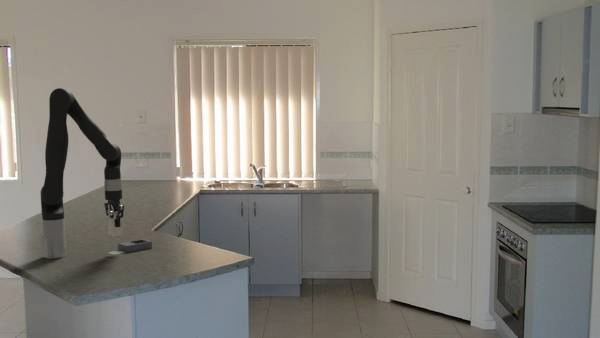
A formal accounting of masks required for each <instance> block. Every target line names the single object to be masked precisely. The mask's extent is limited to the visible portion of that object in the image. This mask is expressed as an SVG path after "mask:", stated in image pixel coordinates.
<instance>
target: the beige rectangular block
mask: <svg viewBox="0 0 600 338" xmlns="http://www.w3.org/2000/svg"><path fill="white" fill-rule="evenodd" d="M120 224H121V226H120V227H115V216H114V217H110V218H109V217H107V225H108V226H107V228H108V236H111V237H118V236H123V235H124V234H123V232H124V231H123V218H121V219H120Z"/></svg>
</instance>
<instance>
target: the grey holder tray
mask: <svg viewBox="0 0 600 338" xmlns="http://www.w3.org/2000/svg"><path fill="white" fill-rule="evenodd" d="M152 248H153V242H152V240H148V239H145V238H141V239H136V240H130V241H123V242H118V243H117V251H118V250H120V251H123V252H126V253H132V252H133V253H134V252H137V251H143V250H147V249H148V250H149V249H152Z"/></svg>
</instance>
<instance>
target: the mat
mask: <svg viewBox="0 0 600 338" xmlns="http://www.w3.org/2000/svg"><path fill="white" fill-rule="evenodd" d="M106 253H107V254H110V255H113V256H116V255H120V254H125V253H127V252H123V251H120V250H118V249H117V250H112V251H108V252H106Z"/></svg>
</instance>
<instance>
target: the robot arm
mask: <svg viewBox="0 0 600 338" xmlns="http://www.w3.org/2000/svg"><path fill="white" fill-rule="evenodd" d="M48 99H49V102H48V103H49V116H48V117H49V120H48V126H47V136H46V142H45V150H44V151H45V152H44V154H45V157H44V158H45V178H44V183H43V186H42V187H41V190H40V206H41V208H40V210H41V219H42V235H41V250H42V258H45V259H47V260H50V259H52V260H53V259H54V260H55V259H60V258H61V259H62V258H64V257H66V256H67V247H66V246H67V244H66V243H67V241H66V225H65V224H66V223H65V210H64V209H65V208H64V173H65V168H66V164H67V159H68V149H69V131H68V126H67V120H68V119H67V117H68V116H69V117H70V118H71V119H72V120H73V122H75V124H76V125H77V126H78V128H79V130H80V131H81V133H82V134H83V135H84V136H85V138H86V139H88V141H89V142H90V144H92V145H93V147H94V148H95V149H96V151H97V152H98V154H99V155H100V156H101V158H102V159H104V160H105V166H104V168H103V169H104V171H103V172H104V173H103V174H104V177H103V178H104V184H103V185H104V188H103V189H104V199H105V201H107V202H104V209H105V210H104V211H105V216H107V218H110V217H115V227H120V226H121V224H120V219H121V218H122V219H123V218H124V212H125V205H122V204H121V200H122V199H123V185H122V183H123V182H122V178H121V177H122V175H121V164H122V163H121V162H122V151H121V148H120V146H119V145H117V144H113V143H111V142H110V141H109V140H108V138H107V135H106V134H105V132H104V131H103V130H102V129H101V127H100V126H98V124H97V123H96V122H95V121H94V120H93V119H92V118H91V117H90V116H89V115H88V114H87V112H86V111H85V110H84V109H83V108H82V106H81V105H80V103H79V101H78V100H77V98H76V97H75V95H74V94H73V92H72V91H70V90H69V89H67V88H61V87H58V88H55V89H54V90H52V91H51V93H50V94H49V98H48Z"/></svg>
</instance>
